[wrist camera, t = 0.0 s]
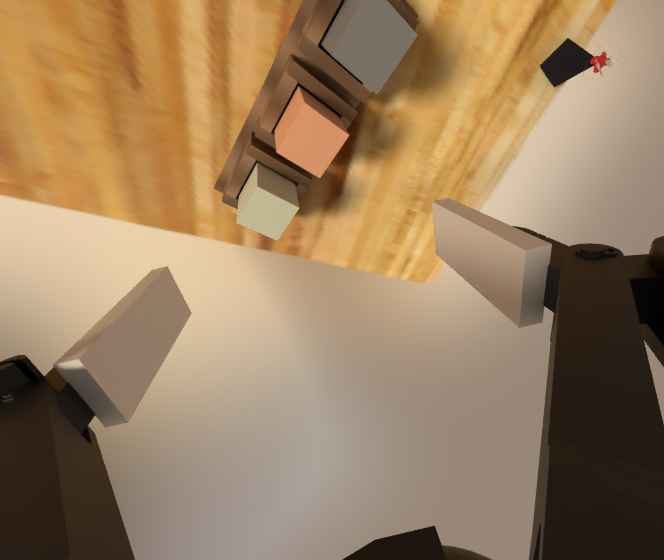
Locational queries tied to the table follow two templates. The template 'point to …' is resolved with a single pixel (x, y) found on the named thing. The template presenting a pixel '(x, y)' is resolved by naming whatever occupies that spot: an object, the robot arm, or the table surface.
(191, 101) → the table surface
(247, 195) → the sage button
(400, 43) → the grey square block
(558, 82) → the figurine
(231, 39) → the table surface
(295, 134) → the terracotta button
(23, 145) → the table surface
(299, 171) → the wooden base
